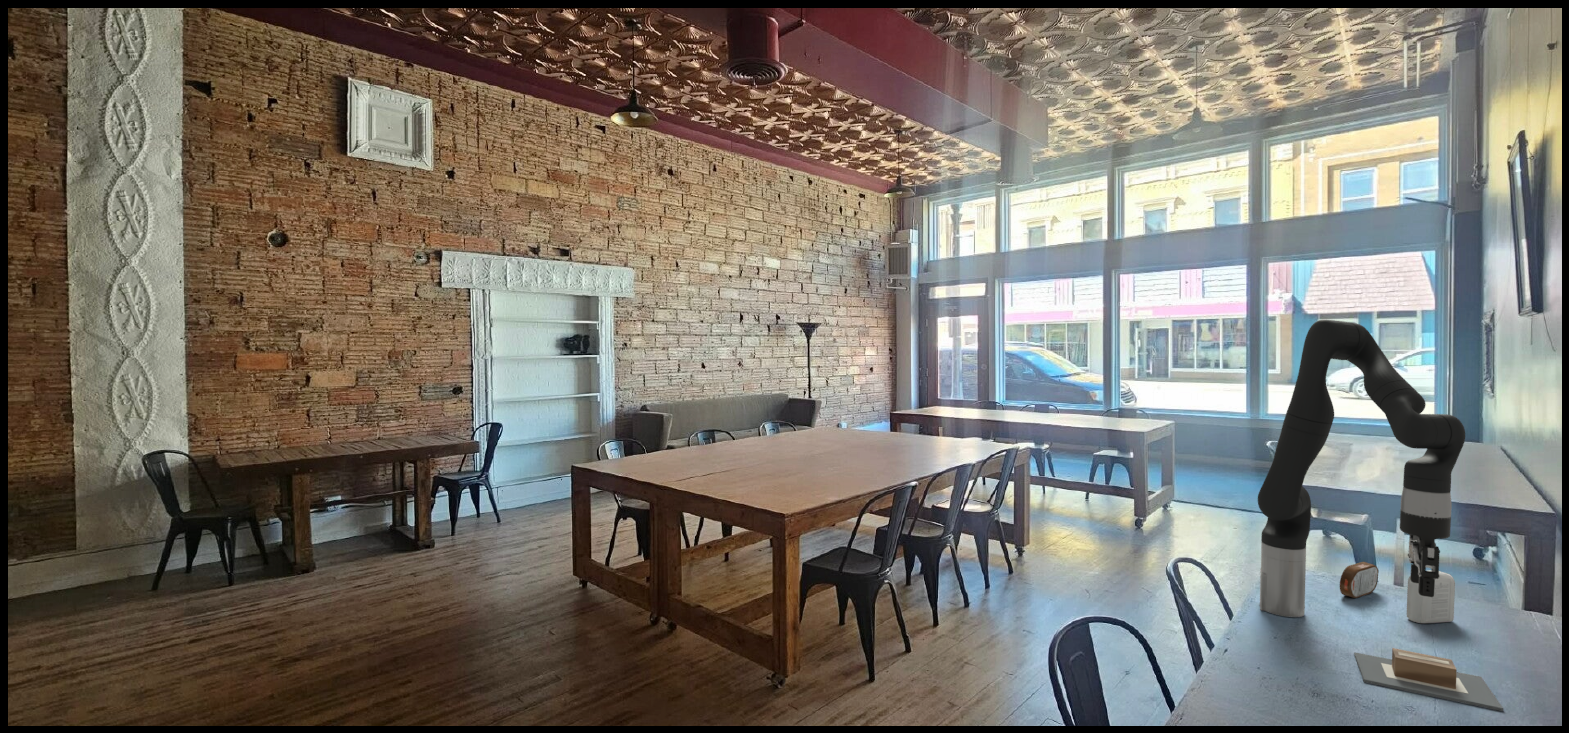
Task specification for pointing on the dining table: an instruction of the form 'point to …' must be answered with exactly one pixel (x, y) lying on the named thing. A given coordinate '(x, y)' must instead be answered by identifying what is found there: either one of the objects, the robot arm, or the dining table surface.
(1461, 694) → the mat
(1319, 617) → the dining table surface
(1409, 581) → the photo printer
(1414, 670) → the card box
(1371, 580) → the tin
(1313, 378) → the robot arm
